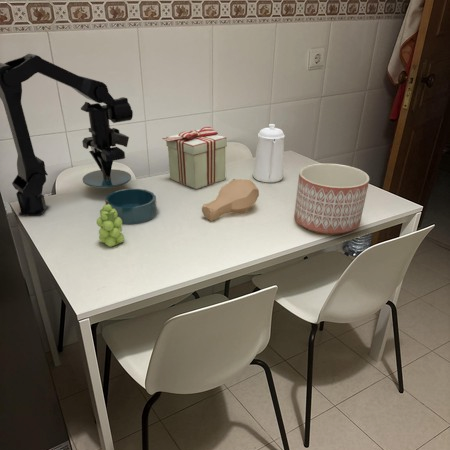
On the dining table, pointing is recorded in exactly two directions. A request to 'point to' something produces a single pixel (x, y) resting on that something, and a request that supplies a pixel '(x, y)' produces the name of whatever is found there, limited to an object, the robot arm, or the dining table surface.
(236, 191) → the squash
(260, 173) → the coffeepot
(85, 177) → the lid
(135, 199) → the teal round bowl
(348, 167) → the planter
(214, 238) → the dining table surface
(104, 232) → the grapes
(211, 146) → the gift box
